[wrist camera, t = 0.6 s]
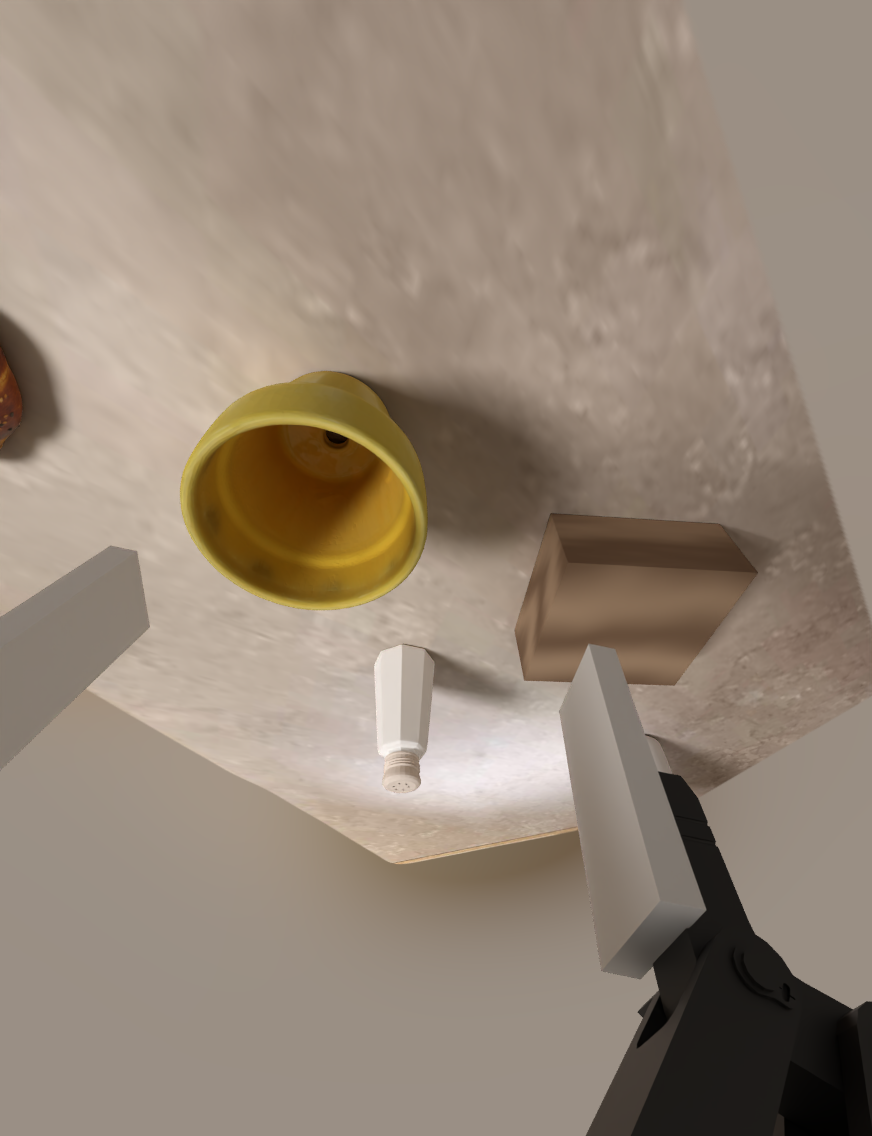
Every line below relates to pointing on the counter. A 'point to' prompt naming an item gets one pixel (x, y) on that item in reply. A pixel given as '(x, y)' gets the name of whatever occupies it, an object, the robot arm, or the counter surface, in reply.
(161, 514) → the counter surface
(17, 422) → the braided bread ring
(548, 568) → the walnut base
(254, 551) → the plant pot
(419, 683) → the pepper shaker
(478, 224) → the counter surface
